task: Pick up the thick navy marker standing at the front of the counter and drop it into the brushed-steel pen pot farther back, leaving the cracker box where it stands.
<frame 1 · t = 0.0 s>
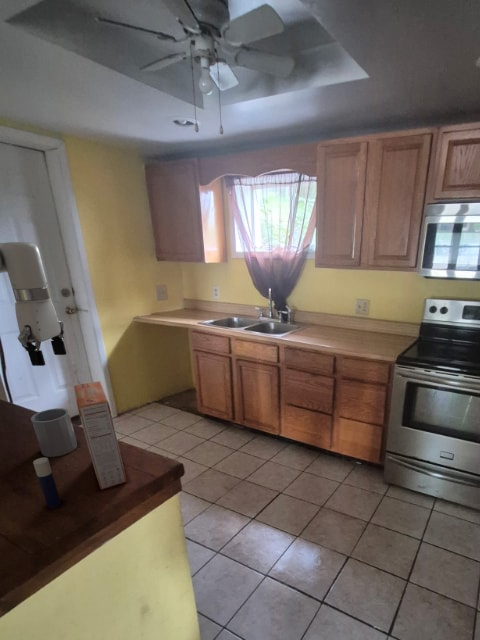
hand: (50, 359, 100), 21 cm above the table, tool pointing down, fingers open, 9 cm apart
pen pot: (59, 448, 99), on the table
cracker box: (109, 472, 89), on the table
marker: (54, 505, 78), on the table
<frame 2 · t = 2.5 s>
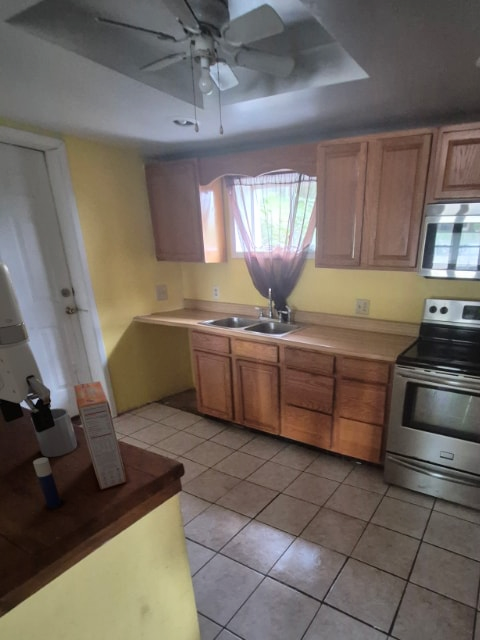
hand: (29, 424, 70), 19 cm above the table, tool pointing down, fingers open, 9 cm apart
nothing on the table moved.
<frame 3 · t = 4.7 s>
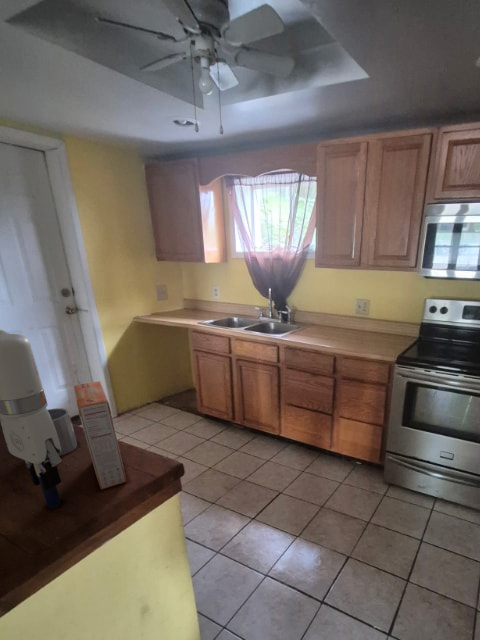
hand: (47, 483, 76), 6 cm above the table, tool pointing down, fingers closed on marker, 2 cm apart
marker: (54, 505, 78), on the table, touching gripper
everything else where it was.
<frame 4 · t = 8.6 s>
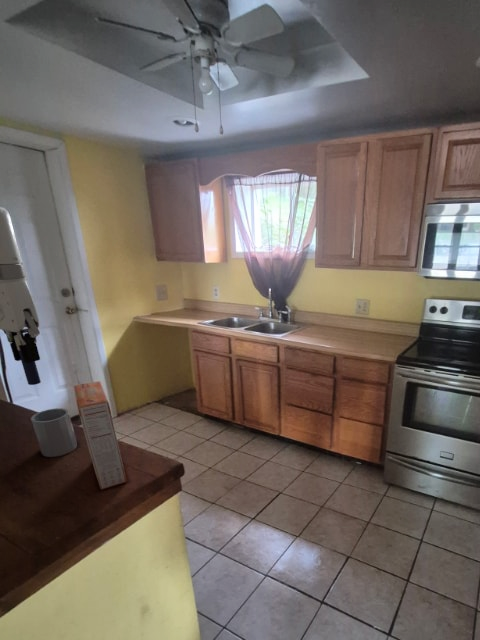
hand: (27, 359, 82), 27 cm above the table, tool pointing down, fingers closed on marker, 2 cm apart
marker: (34, 383, 84), point 21 cm above the table, touching gripper
everything else where it was.
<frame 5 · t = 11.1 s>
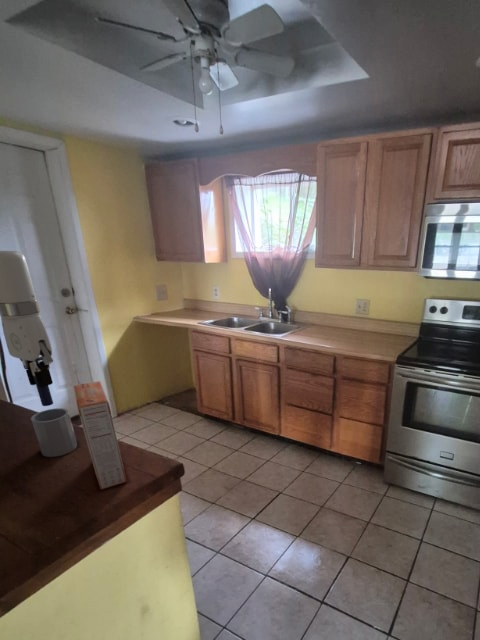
hand: (41, 383, 91), 19 cm above the table, tool pointing down, fingers closed on marker, 2 cm apart
marker: (47, 404, 94), point 13 cm above the table, touching gripper
everything else where it was.
when the fingers open (13 cm above the table, at t = 12.9 s): marker drops 7 cm, resting on pen pot.
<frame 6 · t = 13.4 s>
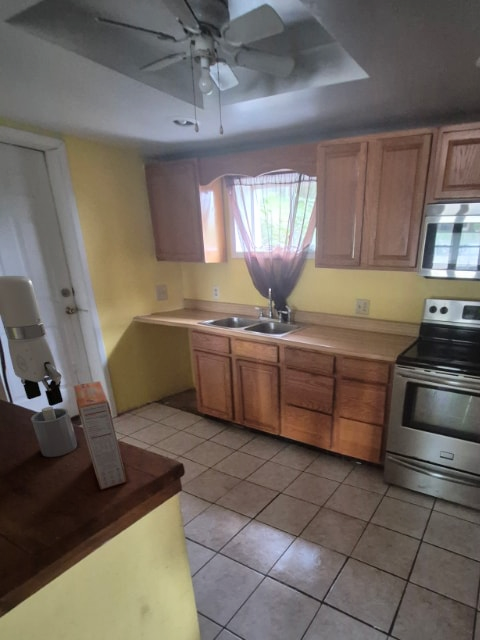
hand: (45, 400, 93), 14 cm above the table, tool pointing down, fingers open, 8 cm apart
marker: (59, 446, 99), point 1 cm above the table, touching pen pot
everything else where it was.
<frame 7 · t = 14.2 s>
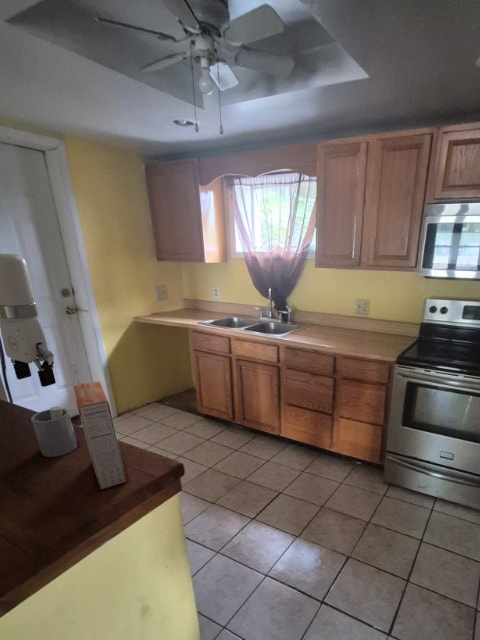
hand: (36, 381, 92), 19 cm above the table, tool pointing down, fingers open, 9 cm apart
marker: (59, 446, 99), point 1 cm above the table, tilted 9°, touching pen pot
everything else where it was.
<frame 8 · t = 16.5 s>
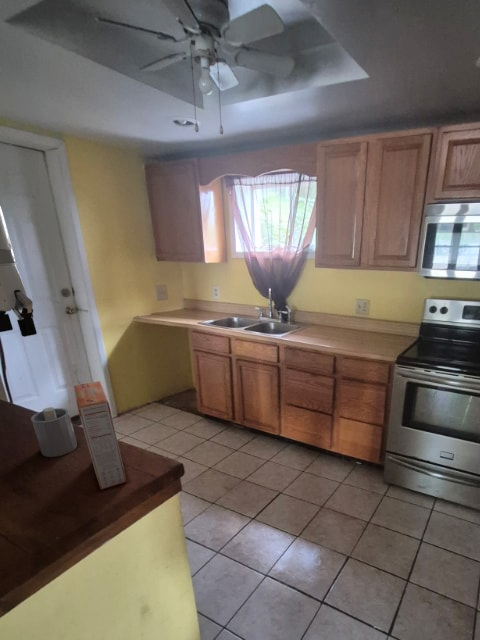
hand: (17, 333, 90), 30 cm above the table, tool pointing down, fingers open, 9 cm apart
marker: (59, 446, 99), point 1 cm above the table, touching pen pot
everything else where it was.
at the end: marker 0.0 cm off-centre in the pen pot, point 0.6 cm above the pen pot's base; the gripper is holding nothing; cracker box moved 0.2 cm from its start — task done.
